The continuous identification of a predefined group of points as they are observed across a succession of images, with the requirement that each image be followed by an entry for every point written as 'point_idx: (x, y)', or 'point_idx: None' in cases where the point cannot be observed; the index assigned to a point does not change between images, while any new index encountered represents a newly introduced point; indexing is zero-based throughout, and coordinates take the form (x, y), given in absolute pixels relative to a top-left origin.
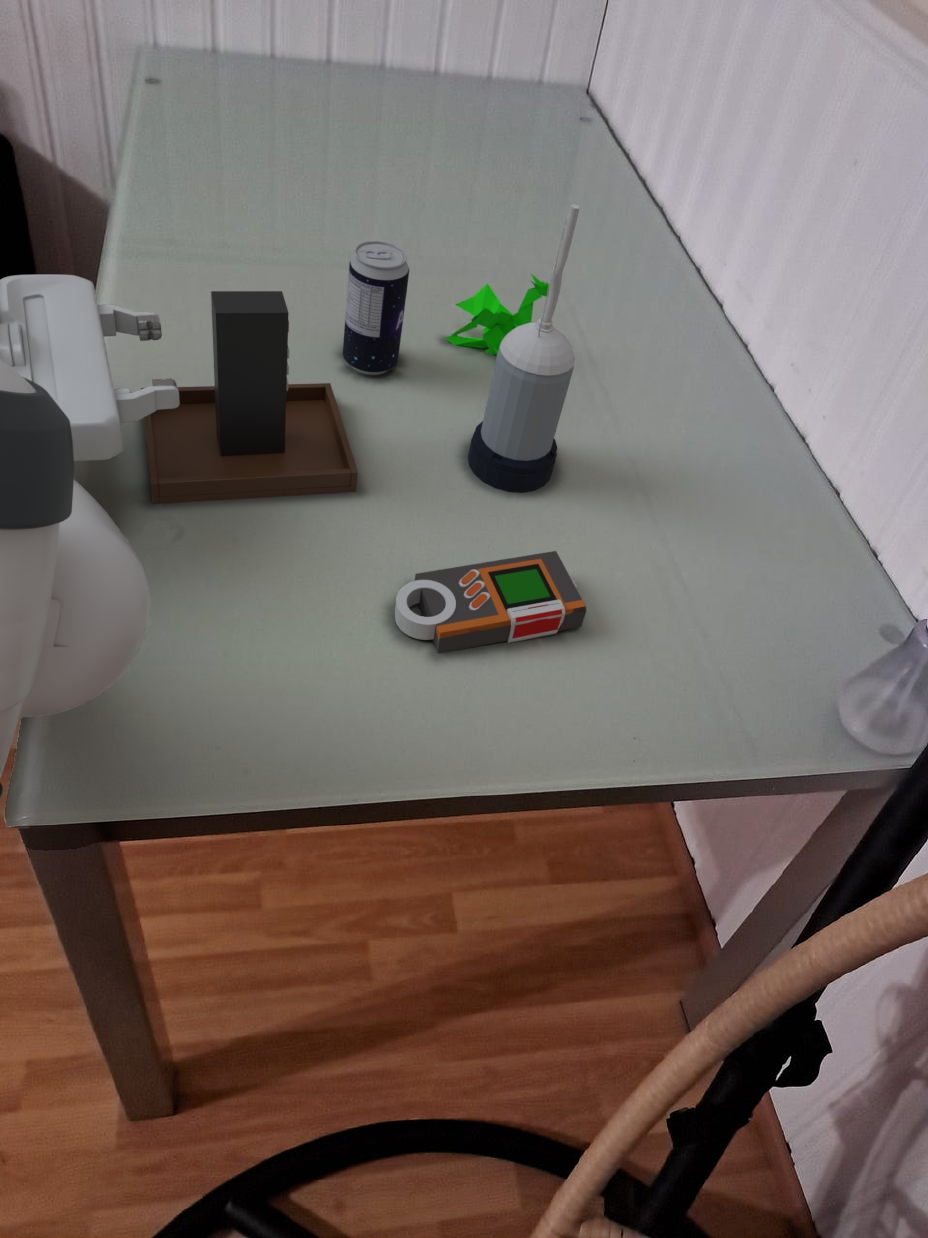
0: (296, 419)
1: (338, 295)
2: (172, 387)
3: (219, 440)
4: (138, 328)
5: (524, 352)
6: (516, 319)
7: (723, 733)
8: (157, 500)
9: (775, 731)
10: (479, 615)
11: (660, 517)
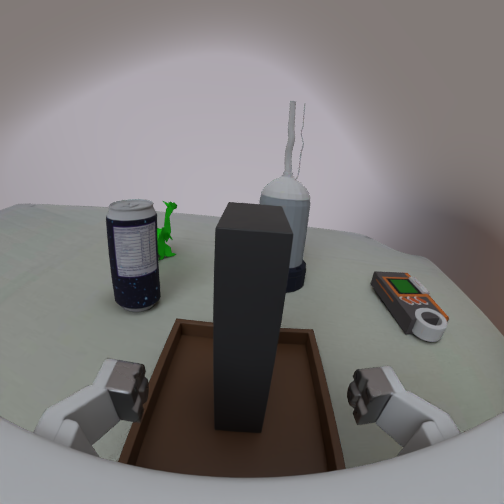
0: (205, 359)
1: (53, 291)
2: (387, 368)
3: (255, 423)
4: (124, 407)
5: (301, 190)
6: (164, 231)
7: (432, 272)
8: None
9: (424, 264)
10: (430, 302)
11: (317, 254)
